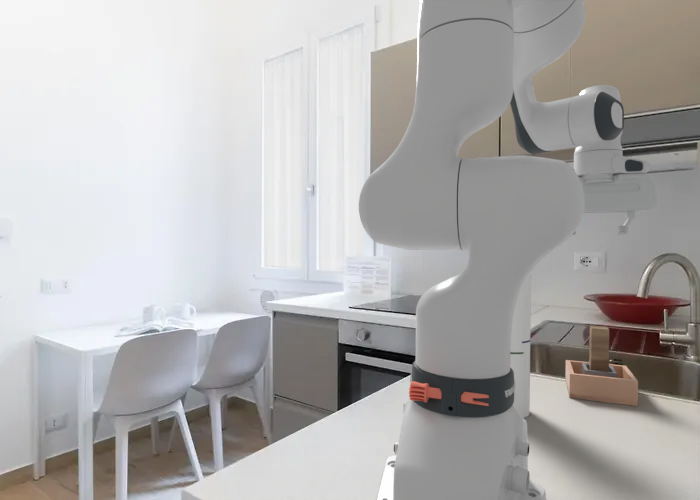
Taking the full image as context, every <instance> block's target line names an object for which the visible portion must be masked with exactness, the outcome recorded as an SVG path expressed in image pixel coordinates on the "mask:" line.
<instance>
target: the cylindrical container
mask: <svg viewBox="0 0 700 500" xmlns="http://www.w3.org/2000/svg"><path fill="white" fill-rule="evenodd" d="M531 299H532V271H531V272H530V274H529V275H528V277H527V278H526V280H525V282H524V284H523V285H522V287H521V290H520V292H519V295H518V297H517V300H516V304H515V309H514V314H513V323H512V333H511V351H510V368H511V369H512V370H513V371H514V380H515V391H514V403H513V406H514V408H515V410H516V411H517V412H518V413H519V414H520V415H521V416H522V417H523V419H524V418H527V417H528V416H529V415H530V411H531V410H530V408H531V407H530V403H531V400H530V399H531V395H530V394H531V393H530V392H531V391H530V390H531V324H532V323H531V322H532V321H531V319H532V318H531V315H532V314H531V313H532V310H531V309H532V301H531Z"/></svg>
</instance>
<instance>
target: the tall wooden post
mask: <svg viewBox="0 0 700 500" xmlns="http://www.w3.org/2000/svg"><path fill="white" fill-rule="evenodd" d="M588 343H589V344H588V345H589V351H588V354H589V355H588V358H589V360H588V362H589V370H595V371H605V372H609V364H610V329H609V327H608V326H601V325H599V326H598V325H589V341H588Z"/></svg>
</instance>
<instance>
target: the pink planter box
mask: <svg viewBox="0 0 700 500" xmlns="http://www.w3.org/2000/svg"><path fill="white" fill-rule="evenodd" d="M564 380H565V385H566V389H567V394H568V397H569V398H571V399H576V400H577V399H579V400H586V401H593V402H594V401H595V402H601V403H609V404H617V405H618V404H619V405H624V406H633V407H638V405H639V381H638V379H637V377H635V376H634V374H633V372H632V371H631V370H630V369H629V368H628V366H627V365H621V364H612V363H609V372H605V371H595V370H589V361H580V360H573V359H572V360H569V359H565V379H564Z"/></svg>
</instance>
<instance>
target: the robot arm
mask: <svg viewBox="0 0 700 500" xmlns="http://www.w3.org/2000/svg"><path fill="white" fill-rule="evenodd" d="M419 3H420V4H419V11H418V12H419V13H418V23H417V44H416V45H417V48H416V49H417V52H416V53H417V54H416V55H417V57H416V58H417V62H416V66H417V67H416V80H415V83H416V85H415V95H414V104H413V110H412V114H411V117H410V121H409V123H408V126H407V128H406V131H405V133H404V134H403V136H402V138H401V141H400V142H399V143H398V146H397V147H396V148H395V149H394V151H393V152H392V153H391V154H390V155H389V157H388V158H387V159H386V160H385V161H384V162H383V163H382V164H381V165H380V166H378V168H376V169H375V170H374V171H372V173H371V174H369V176H368V177H367V179H366V180H365V182H364V183H363V186H362V188H361V191H360V194H359V198H358V199H359V200H358V212H359V219H360V222H361V225H362V226H363V229H364V230H365V232H366V234H367V235H368V237H369V238H370V239H371V240H372V241H373V242H374V243H375V244H376V243H377V244H379V245H384V246H388V247H392V248H396V249H397V248H398V249H403V250H408V251H461V252H465V253H467V254H468V255H469V258H468V263H467V266H466V268H465V269H464V270H463V271H462V272H461V273H459V274H457V275H454V276H452V277H450V278H447V279H445V280H443V281H441V282H439V283H437V284H435V285H433V286H431V287H430V288H429V289H427V290H426V291H424V293H423V294H422V295H421V297H420V298H419V300H418V301H417V304H416V307H415V360H414V361H413V362H412V366H411V372H410V377H409V383H410V384H409V388H408V390H409V391H408V394H409V395H408V397H409V399H407V400H406V401H404V402H403V404H402V405H403V408H402V409H403V414H402V415H403V416H402V422H401V425H400V426H401V427H400V433H399V438H398V441H396V442H395V443H394V444H393V452H394V455H389V456H388V457H387V458H386V459H385V463H384V467H383V471H382V476H381V479H380V483H379V487H378V490H377V495H376V500H547V494H546V489H545V488H544V486H542V485H541V484H539V483H537V482H536V481H534V480H533V479H532V480H531V478H530V477H531V476H530V471H529V467H528V466H529V465H528V463H529V458H528V457H529V455H530V443H529V442H528V422H527V420H526V419H524V418H523V417H522V416H521V415H520V414H519V413H518V412H517V411H516V410H515V408H514V406H513V403H514V391H515V380H514V371H513V370H512V369H511V368H510V351H511V333H512V323H513V314H514V309H515V304H516V300H517V297H518V295H519V292H520V290H521V287H522V285H523V284H524V282H525V280H526V278H527V277H528V275H529V274H530V272H531V273H532V271H534V269H535V268H536V266H537V265H538V264H539V263H540V262H541V261H542V260H543V259H545V257H547V255H549V254H550V253H552V252H553V251H554V250H556V249H557V248H559V247H560V246H562V245H563V244H564V243H566V242H567V241H568V240H570V238H571V237H572V236H573V235H574V236H575V235H576V231H577V229H578V228H579V226H580V223H581V221H582V219H583V216H584V214H595V213H597V214H600V213H601V214H605V213H606V214H607V213H624V218H626V220H625V222H624V223H623V224H622V225H619V226H617V228H618V231H617V234H618V235H619V236H620V235H623V236H624V235H625V236H626V235H627V236H628V235H629V226H630V225H631V223H632V222H633V220H634V219H635V218H636V215H635V214H636V213H645V212H646V213H647V212H651V211H653V210H654V209H655V208H656V207H657V192H656V191H657V190H656V186H655V185H656V184H655V181H654V178H653V177H652V175H650V174H648V172H649V171H650V169H651V168H650V167H651V166H650V162H649V161H647V160H643V159H638V158H632V157H627V156H624V153H623V146H622V143H621V142H622V141H621V137H622V134H623V131H624V127H625V126H624V125H625V123H624V122H625V111H624V110H625V109H624V105H623V103H622V100H621V99H622V97H621V95H620V91H619V89H618V88H617V87H616V86H613V85H610V84H596V85H591V86H589V87H586V88H584V89H582V90H581V91H580V93H579V94H578V95H574V96H570V97H567V98H562V99H558V100H553V101H547V102H546V101H545V102H543V101H539V100H537V97H536V92H535V86H534V83H533V78H532V77H533V76H535V75H536V74H537V73H538V72H540V71H541V70H543V69H545V67H547V66H549V65H551V64H553V63H554V62H556V61H557V60H559V59H561V57H563V56H564V55H565V54H566V53H567V52H568V51H569V50H570V49H571V48H572V47H573V45H574V44H575V43H576V42H577V40H578V38H579V36H580V35H581V33H582V30H583V28H584V25H585V22H586V8H585V2H584V0H419ZM509 106H510V108H511V112H512V117H513V121H514V129H515V136H516V140H517V143H518V145H519V147H520V148H521V149H523V151H525V152H527V153H528V154H531V155H522V154H521V155H520V154H519V155H517V154H515V155H504V156H503V155H502V156H490V157H489V156H488V157H487V156H486V157H474V158H462V157H458V156H459V152H460V149H461V147H462V146H463V144H464V143H465V141H466V140H467V139H469V138H470V137H471V136H472V135H474V134H475V133H477V132H479V131H481V130H482V129H484V128H486V127H487V126H489V125H491V124H493V123H494V122H495V121H496V120H498V119H499V118H500V117H502V116H503V114H504V113H505V112H506V110H507V109H508V108H509ZM572 148H574V153H573V167H572V166H571V165H570V164H568V163H567V162H566V161H564V160H561V159H555V158H549V157H542V156H534V155H539V154H544V153H549V152H551V151H557V150H564V149H572ZM532 155H533V156H532Z"/></svg>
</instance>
